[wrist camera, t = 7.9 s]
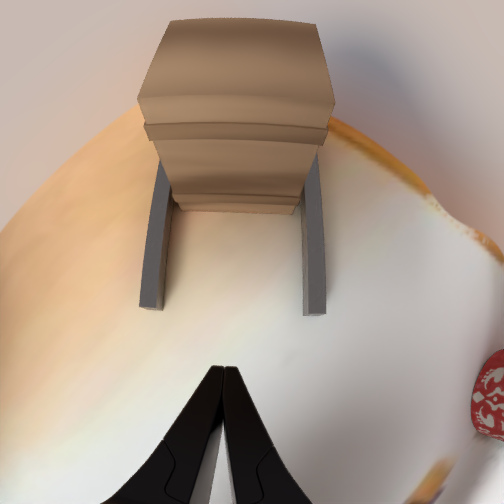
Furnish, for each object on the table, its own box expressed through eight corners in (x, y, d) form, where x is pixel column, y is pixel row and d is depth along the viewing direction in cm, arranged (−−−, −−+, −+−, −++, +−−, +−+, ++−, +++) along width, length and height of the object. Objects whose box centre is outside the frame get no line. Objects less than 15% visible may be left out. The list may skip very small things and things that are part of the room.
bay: (319, 315, 17) (349, 306, 12) (146, 309, 17) (113, 297, 12) (308, 126, 21) (323, 79, 16) (174, 122, 21) (162, 74, 16)
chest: (293, 215, 19) (338, 105, 9) (179, 212, 19) (133, 100, 9) (290, 138, 21) (317, 23, 11) (191, 135, 20) (169, 20, 11)
